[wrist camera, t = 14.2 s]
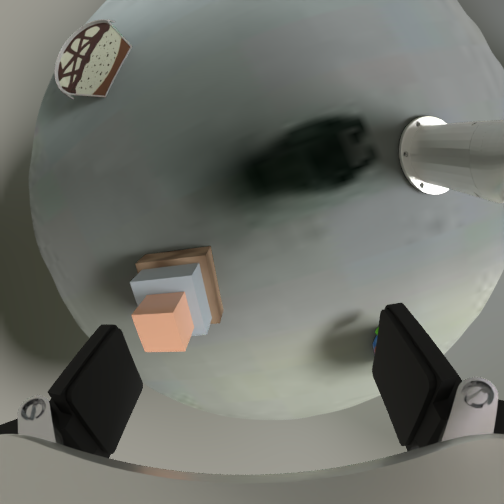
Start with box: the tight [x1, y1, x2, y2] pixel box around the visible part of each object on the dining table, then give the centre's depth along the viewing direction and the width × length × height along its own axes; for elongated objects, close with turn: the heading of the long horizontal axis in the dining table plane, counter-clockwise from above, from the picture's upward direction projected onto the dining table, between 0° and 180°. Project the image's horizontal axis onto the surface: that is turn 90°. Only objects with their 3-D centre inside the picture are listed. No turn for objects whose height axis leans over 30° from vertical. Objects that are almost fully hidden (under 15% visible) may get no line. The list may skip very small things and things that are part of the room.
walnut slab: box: [135, 246, 223, 324], centre depth 44 cm, size 11×11×4 cm
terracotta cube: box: [132, 292, 194, 352], centre depth 35 cm, size 6×6×6 cm
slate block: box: [130, 263, 212, 336], centre depth 40 cm, size 9×9×4 cm
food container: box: [54, 20, 132, 99], centre depth 30 cm, size 12×6×10 cm, turn 152°
